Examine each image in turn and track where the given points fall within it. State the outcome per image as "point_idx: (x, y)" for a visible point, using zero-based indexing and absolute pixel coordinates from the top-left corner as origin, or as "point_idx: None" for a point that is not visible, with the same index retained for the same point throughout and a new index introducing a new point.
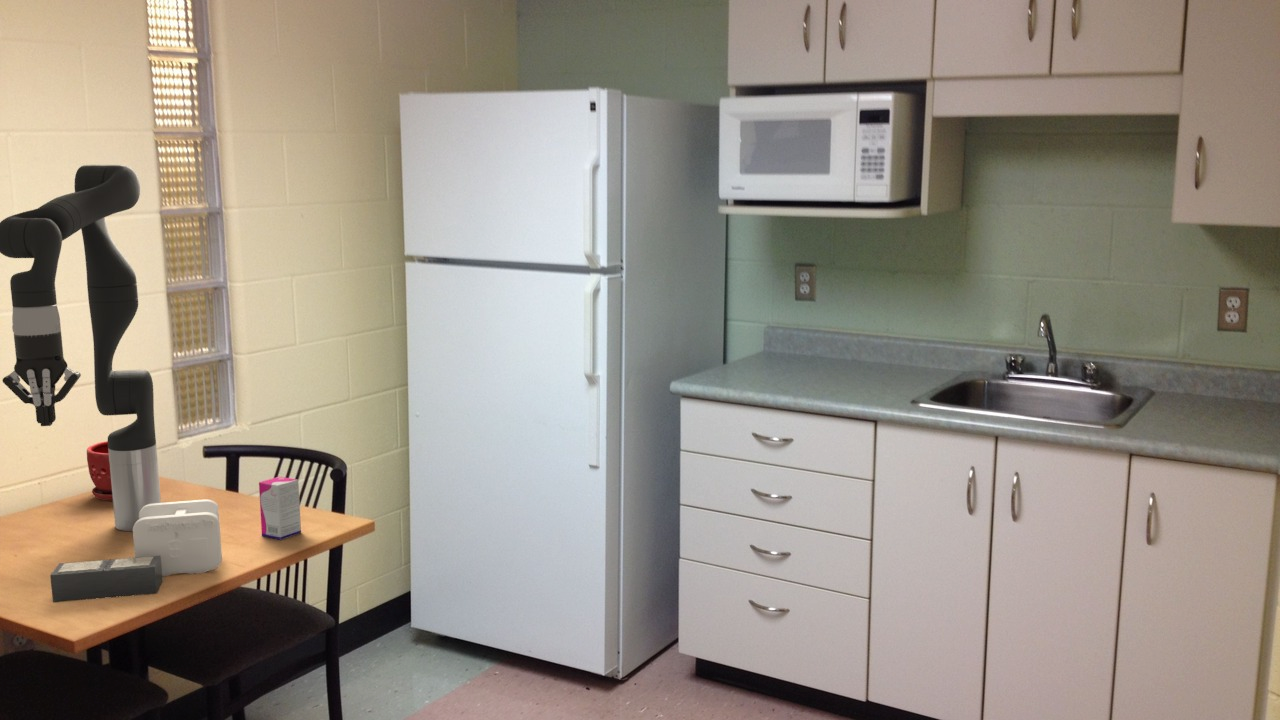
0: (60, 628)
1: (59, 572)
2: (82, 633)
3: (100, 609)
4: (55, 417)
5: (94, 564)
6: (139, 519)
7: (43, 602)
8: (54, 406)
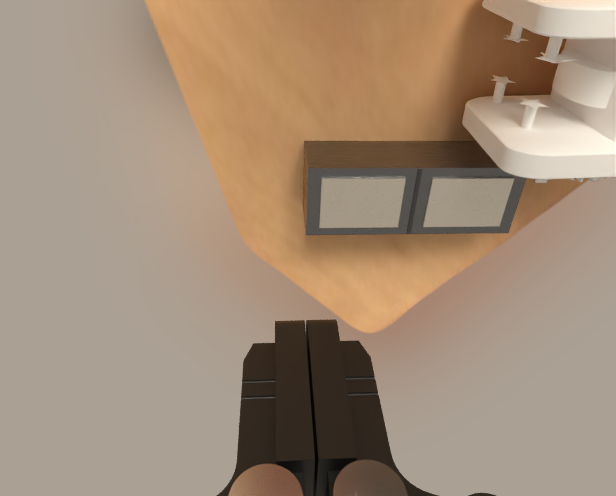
0: (340, 305)
1: (322, 227)
2: (374, 325)
3: (391, 250)
4: (370, 366)
5: (389, 200)
6: (530, 159)
7: (284, 198)
8: (388, 449)
